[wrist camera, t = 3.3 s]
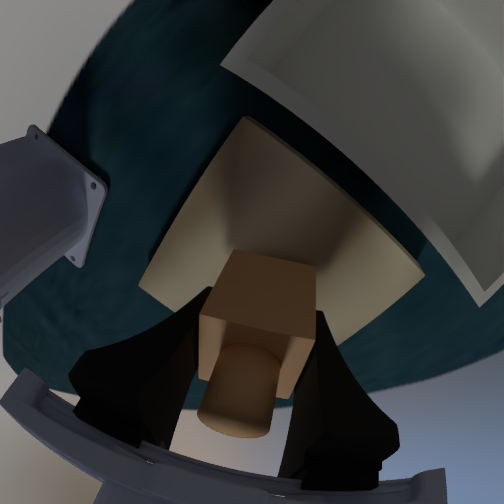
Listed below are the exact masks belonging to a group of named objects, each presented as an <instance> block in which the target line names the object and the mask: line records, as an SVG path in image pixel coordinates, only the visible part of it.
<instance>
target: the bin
mask: <svg viewBox="0 0 504 504" xmlns="http://www.w3.org/2000/svg"><path fill="white" fill-rule="evenodd" d="M220 65H221V66H223V67H224V68H226V69H228V70H230V71H231V72H233V73H235V74H236V75H238V76H239V77H241V78H243V79H244V80H246V81H247V82H249V83H251V84H252V85H254V86H255V87H257V88H258V89H260V90H261V91H263V92H264V93H266V94H267V95H269V96H270V97H272V98H273V99H274V100H276V101H277V102H279V103H280V104H282V105H283V106H284V107H286V108H287V109H288V110H290V111H291V112H293V113H294V114H295V115H297V116H298V117H299V118H301V119H302V120H303V121H305V122H306V123H307V124H308V125H310V126H311V127H312V128H313V129H315V130H316V131H317V132H319V133H320V134H321V135H322V136H323V137H325V138H326V139H327V140H328V141H330V142H331V143H332V144H333V145H334V146H335V147H337V148H338V149H339V150H340V151H341V152H342V153H344V154H345V155H346V156H347V157H348V158H349V159H350V160H352V161H353V162H354V163H355V164H356V165H357V166H358V167H359V168H360V169H361V170H363V171H364V172H365V173H366V174H367V175H368V176H369V177H370V178H371V179H372V180H373V181H374V182H375V183H376V184H377V185H378V186H379V187H380V188H381V189H382V190H383V191H384V192H385V193H386V194H387V195H388V196H389V197H390V198H391V199H392V200H393V201H394V202H395V203H396V204H397V205H398V206H399V207H400V208H401V209H402V210H403V211H404V212H405V213H406V215H407V216H408V217H409V218H410V219H411V220H412V221H413V222H414V223H415V224H416V226H417V227H418V228H419V229H420V230H421V231H422V232H423V234H424V235H425V236H426V237H427V238H428V239H429V241H430V242H431V243H432V244H433V245H434V247H435V248H436V249H437V250H438V252H439V253H440V254H441V255H442V257H443V258H444V259H445V260H446V262H447V263H448V264H449V265H450V267H451V268H452V269H453V271H454V272H455V273H456V275H457V276H458V277H459V279H460V280H461V282H462V283H463V284H464V286H465V287H466V289H467V290H468V291H469V293H470V294H471V296H472V297H473V299H474V300H475V302H476V303H477V305H478V306H479V307H480V306H481V305H482V304H484V303H485V302H486V301H487V300H488V299H489V298H490V297H491V296H492V295H493V294H494V293H495V292H496V291H497V290H498V289H499V288H500V287H501V286H502V285H503V284H504V0H273V1H272V2H271V4H270V5H269V6H268V7H267V8H266V9H265V10H264V11H263V12H262V13H261V15H260V16H259V17H258V18H257V19H256V20H255V21H254V23H253V24H252V25H251V26H250V27H249V28H248V30H247V31H246V32H245V33H244V34H243V36H242V37H241V38H240V39H239V41H238V42H237V43H236V44H235V46H234V47H233V48H232V50H231V51H230V52H229V53H228V55H227V56H226V57H225V59H224V60H223V61H222V63H221V64H220Z"/></svg>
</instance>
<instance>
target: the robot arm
mask: <svg viewBox="0 0 504 504" xmlns="http://www.w3.org/2000/svg"><path fill="white" fill-rule="evenodd" d="M94 183H95V184H96V187H95V184H94ZM107 192H108V188H107V185H106V183H105V182H104V181H102V180H101V179H100V178H99V177H97V176H96V175H95V174H94V173H92V172H91V171H90V170H89V169H87V168H86V167H85V166H84V165H82V164H81V163H80V162H79V161H78V160H76V159H75V158H74V157H73V156H71V155H70V154H69V153H68V152H67V151H65V150H64V149H63V148H62V147H61V146H59V145H58V144H57V143H56V142H55V141H53V140H52V139H51V138H50V137H49V136H47V135H46V134H45V133H44V132H43V131H42V130H40V129H39V128H38V127H37V126H36V125H30V126H29V128H28V130H27V135H26V136H25V137H21V138H18V139H15V140H12V141H8V142H6V143H2V144H0V309H1V308H2V307H3V306H4V305H5V304H6V303H8V302H9V301H10V300H11V299H12V298H13V297H14V296H15V295H16V294H17V293H18V292H20V291H21V290H22V289H23V288H24V287H25V286H26V285H28V284H29V283H30V282H31V281H32V280H33V279H34V278H36V277H37V276H38V275H39V274H40V273H42V272H43V271H44V270H45V269H46V268H48V267H49V266H50V265H51V264H53V263H54V262H55V261H56V260H58V259H59V258H60V257H62V256H63V255H65V256H66V257H67V258H68V259H69V260H70V261H71V262H72V263H73V264H75V265H76V266H77V267H79V268H80V267H82V266H83V265H84V263H85V259H86V255H87V252H88V248H89V245H90V242H91V238H92V235H93V232H94V229H95V226H96V223H97V220H98V217H99V214H100V211H101V208H102V206H103V203H104V200H105V197H106V195H107ZM212 289H213V287H211V286H207V287H206V288H205V289H203V290H202V291H201V292H200V293H199V294H198V295H197V296H195V297H194V298H193V299H192V300H191V301H189V302H188V303H187V304H186V305H184V306H183V307H182V308H180V309H179V310H178V311H176V312H175V313H174V314H172V315H171V316H169V317H168V318H166V319H165V320H163V321H162V322H160V323H158V324H157V325H155V326H153V327H152V328H150V329H148V330H146V331H144V332H142V333H140V334H138V335H135V336H133V337H131V338H129V339H126V340H123V341H121V342H118V343H115V344H112V345H108V346H105V347H101V348H97V349H92V350H88V351H85V352H84V354H83V355H82V356H81V357H80V358H79V360H78V361H77V362H76V364H75V365H74V367H73V368H72V369H71V371H70V372H69V373H68V375H69V380H70V382H71V384H72V385H73V387H74V389H75V390H76V392H77V393H78V395H79V397H80V398H81V399H80V400H79V402H78V403H77V405H76V406H73V405H72V404H70V403H69V402H67V401H65V400H64V399H62V398H61V397H59V396H57V395H56V394H54V393H53V392H51V391H50V390H49V388H48V386H47V385H46V384H45V382H44V381H43V380H42V379H41V378H39V377H38V376H37V375H35V374H34V373H33V372H31V371H30V370H28V369H27V368H24V369H23V370H22V372H21V373H20V374H19V376H18V377H17V378H16V379H15V381H14V382H13V383H12V385H11V386H10V387H9V389H8V390H7V391H6V393H5V394H4V395H3V397H2V398H1V400H0V405H1V406H2V407H3V408H4V409H5V410H6V411H7V412H8V413H9V414H10V415H11V416H12V417H13V418H14V419H15V420H16V421H17V422H18V423H19V424H20V425H21V426H22V427H23V428H24V429H25V430H27V431H28V432H29V433H30V434H31V435H33V436H34V437H35V438H36V439H38V440H39V441H40V442H42V443H43V444H44V445H45V446H47V447H48V448H49V449H51V450H52V451H53V452H55V453H56V454H58V455H59V456H60V457H62V458H63V459H65V460H67V461H68V462H69V463H71V464H72V465H74V466H75V467H77V468H79V469H80V470H82V471H83V472H85V473H87V474H88V475H90V476H92V477H94V478H96V479H97V480H99V481H101V482H102V483H103V484H102V486H101V488H100V490H99V492H98V494H97V496H96V499H95V501H94V503H93V504H447V489H446V488H447V487H446V476H445V468H440V469H434V470H428V471H424V472H421V473H419V474H416V475H415V476H413V477H412V478H406V479H397V480H386V481H379V471H380V470H381V469H382V461H384V460H385V459H387V458H388V457H390V456H391V455H392V454H394V453H395V452H396V451H397V450H398V449H399V447H400V442H399V433H398V428H397V424H396V423H395V422H394V421H393V420H391V419H390V418H389V417H388V416H387V415H386V414H385V413H384V412H382V410H381V409H380V408H379V407H378V406H377V405H376V404H375V403H374V402H373V401H372V400H371V399H370V397H369V396H368V395H367V394H366V392H365V391H364V390H363V389H362V387H361V386H360V385H359V383H358V382H357V380H356V379H355V377H354V376H353V374H352V373H351V371H350V370H349V368H348V366H347V364H346V363H345V361H344V359H343V357H342V355H341V353H340V351H339V349H338V347H337V345H336V343H335V340H334V338H333V336H332V333H331V331H330V329H329V326H328V323H327V321H326V318H325V315H324V313H323V311H321V310H316V335H315V342H314V345H313V347H312V349H311V351H310V354H309V356H308V358H307V360H306V363H305V365H304V367H303V369H302V371H301V374H300V376H299V378H298V380H297V382H296V384H295V386H294V401H293V409H292V415H291V420H290V426H289V431H288V435H287V440H286V445H285V449H284V454H283V458H282V462H281V465H280V469H279V473H278V476H277V477H273V476H266V475H260V474H255V473H249V472H244V471H239V470H234V469H230V468H226V467H222V466H218V465H214V464H210V463H207V462H203V461H200V460H196V459H193V458H190V457H187V456H183V455H180V454H177V453H175V452H171V451H169V448H170V445H171V441H172V438H173V434H174V431H175V428H176V425H177V422H178V419H179V415H180V412H181V410H182V407H183V404H184V401H185V398H186V395H187V392H188V390H189V387H190V384H191V382H192V379H193V377H194V375H195V373H196V371H197V369H198V367H199V314H200V312H201V310H202V308H203V306H204V304H205V302H206V300H207V298H208V296H209V294H210V292H211V291H212ZM1 321H2V320H1V317H0V322H1ZM147 461H148V462H151V463H153V464H151V463H148V462H147ZM270 494H272V495H270ZM275 495H280V496H285V497H280V496H275Z"/></svg>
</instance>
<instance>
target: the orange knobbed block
mask: <svg viewBox="0 0 504 504" xmlns="http://www.w3.org/2000/svg"><path fill="white" fill-rule="evenodd" d="M315 335H316V267H315V266H311V265H306V264H301V263H297V262H292V261H288V260H283V259H278V258H274V257H269V256H264V255H260V254H255V253H251V252H246V251H241V250H237V249H233V251H232V252H231V254H230V256H229V258H228V260H227V262H226V264H225V266H224V268H223V270H222V271H221V273H220V275H219V277H218V279H217V281H216V283H215V285H214V287H213V289H212V291H211V292H210V294H209V296H208V298H207V300H206V302H205V304H204V306H203V308H202V310H201V312H200V314H199V378H200V379H203V380H207V381H209V382H208V385H207V387H206V390H205V393H204V395H203V398H202V401H201V403H200V406H199V409H198V411H197V415H198V418H199V419H200V421H201V422H202V423H204V424H205V425H206V426H207V427H209V428H211V429H213V430H215V431H217V432H219V433H222V434H225V435H229V436H233V437H238V438H257V437H262V436H264V435H266V434H267V433H268V432H269V430H270V426H271V420H272V415H273V410H274V404H275V398H276V397H279V398H284V399H289V397H290V394H291V392H292V390H293V388H294V386H295V384H296V382H297V380H298V378H299V376H300V374H301V371H302V369H303V367H304V365H305V363H306V360H307V358H308V356H309V354H310V351H311V349H312V347H313V345H314V342H315Z"/></svg>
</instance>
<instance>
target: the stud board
mask: <svg viewBox="0 0 504 504" xmlns="http://www.w3.org/2000/svg"><path fill="white" fill-rule="evenodd" d="M233 249H237V250H241V251H246V252H251V253H255V254H260V255H264V256H269V257H274V258H278V259H283V260H288V261H292V262H297V263H301V264H306V265H311V266H315V267H316V310H321V311H323V313H324V315H325V318H326V321H327V323H328V326H329V329H330V331H331V333H332V336H333V338H334V340H335V343H336V345H337V346H338V345H339V344H341V343H342V342H343V341H345V340H346V339H348V338H349V337H350V336H352V335H353V334H355V333H356V332H357V331H359V330H360V329H361V328H363V327H364V326H365V325H367V324H368V323H369V322H370V321H372V320H373V319H374V318H376V317H377V316H378V315H379V314H381V313H382V312H383V311H384V310H386V309H387V308H388V307H389V306H391V305H392V304H393V303H394V302H395V301H397V300H398V299H399V298H400V297H401V296H403V295H404V294H405V293H406V292H407V291H408V290H410V289H411V288H412V287H413V286H414V285H415V284H416V283H418V282H419V281H420V280H421V279H422V278H423V277H424V276H425V274H424V273H423V271H422V269H421V267H420V266H419V264H418V262H417V261H416V260H415V259H414V258H413V257H412V255H411V254H410V253H409V252H408V251H407V250H406V249H405V248H404V247H403V246H402V245H401V244H400V243H399V242H398V241H397V240H396V239H395V238H394V237H393V236H392V235H391V234H390V233H389V232H388V231H387V230H386V229H385V228H384V227H383V226H382V225H381V224H380V223H379V222H378V221H377V220H376V219H375V218H374V217H373V216H372V215H371V214H370V213H369V212H368V211H367V210H366V209H365V208H363V207H362V206H361V205H360V204H359V203H358V202H357V201H356V200H355V199H354V198H353V197H351V196H350V195H349V194H348V193H347V192H346V191H345V190H344V189H342V188H341V187H340V186H339V185H338V184H337V183H336V182H334V181H333V180H332V179H331V178H330V177H329V176H327V175H326V174H325V173H324V172H323V171H321V170H320V169H319V168H318V167H317V166H315V165H314V164H313V163H312V162H310V161H309V160H308V159H307V158H306V157H304V156H303V155H302V154H300V153H299V152H298V151H297V150H295V149H294V148H293V147H291V146H290V145H289V144H288V143H286V142H285V141H284V140H282V139H281V138H280V137H278V136H277V135H276V134H274V133H273V132H271V131H270V130H269V129H267V128H266V127H265V126H263V125H262V124H260V123H259V122H258V121H256V120H255V119H253V118H252V117H250V116H244V117H242V119H241V120H240V121H239V123H238V124H237V125H236V127H235V128H234V130H233V131H232V132H231V134H230V135H229V137H228V138H227V140H226V141H225V142H224V144H223V145H222V147H221V148H220V150H219V151H218V153H217V154H216V156H215V157H214V158H213V160H212V161H211V163H210V164H209V166H208V167H207V169H206V171H205V172H204V174H203V175H202V177H201V178H200V180H199V181H198V183H197V184H196V186H195V188H194V189H193V191H192V192H191V194H190V195H189V197H188V199H187V200H186V202H185V204H184V205H183V207H182V208H181V210H180V212H179V213H178V215H177V217H176V218H175V220H174V222H173V223H172V225H171V227H170V229H169V230H168V232H167V234H166V235H165V237H164V239H163V241H162V242H161V244H160V246H159V248H158V250H157V251H156V253H155V255H154V257H153V259H152V260H151V262H150V264H149V266H148V268H147V270H146V272H145V273H144V275H143V277H142V279H141V281H140V283H139V285H138V286H140V287H141V288H142V289H143V290H145V291H146V292H147V293H149V294H150V295H152V296H153V297H154V298H156V299H157V300H158V301H160V302H161V303H162V304H164V305H165V306H167V307H168V308H169V309H171V310H172V311H174V312H176V311H178V310H179V309H180V308H182V307H183V306H184V305H186V304H187V303H188V302H189V301H191V300H192V299H193V298H194V297H195V296H197V295H198V294H199V293H200V292H201V291H202V290H203V289H205V288H206V287H207V286H211V287H214V285H215V283H216V281H217V279H218V277H219V275H220V273H221V271H222V270H223V268H224V266H225V264H226V262H227V260H228V258H229V256H230V254H231V252H232V251H233Z"/></svg>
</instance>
